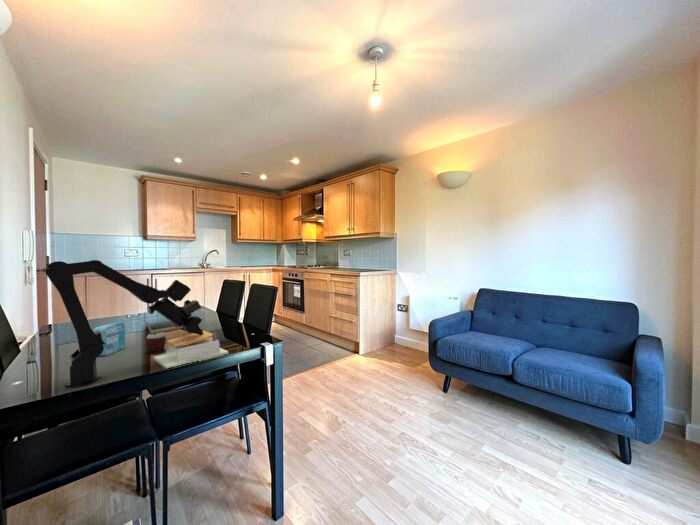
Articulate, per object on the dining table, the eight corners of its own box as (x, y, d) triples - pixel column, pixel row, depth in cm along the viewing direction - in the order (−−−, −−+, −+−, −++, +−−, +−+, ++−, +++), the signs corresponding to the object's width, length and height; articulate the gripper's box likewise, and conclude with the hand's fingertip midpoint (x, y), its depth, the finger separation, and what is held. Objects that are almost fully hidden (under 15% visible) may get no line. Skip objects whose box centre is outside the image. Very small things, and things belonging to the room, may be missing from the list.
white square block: (178, 363, 107) (177, 341, 107) (166, 354, 117) (165, 334, 117) (219, 352, 118) (219, 332, 118) (205, 345, 128) (204, 327, 128)
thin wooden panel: (176, 348, 108) (175, 346, 108) (167, 342, 116) (166, 340, 116) (214, 336, 118) (214, 334, 118) (204, 332, 126) (203, 330, 126)
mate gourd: (169, 351, 126) (168, 316, 125) (148, 356, 119) (147, 319, 119) (161, 348, 130) (159, 314, 130) (140, 353, 123) (139, 317, 123)
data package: (105, 356, 120) (104, 327, 120) (93, 357, 120) (92, 328, 120) (125, 348, 132) (124, 321, 132) (115, 348, 132) (114, 322, 132)
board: (166, 369, 103) (166, 366, 103) (153, 359, 115) (153, 356, 115) (228, 353, 119) (228, 351, 119) (211, 346, 131) (211, 343, 131)
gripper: (195, 296, 110) (225, 320, 118) (179, 293, 122) (207, 315, 131) (172, 320, 104) (205, 344, 112) (157, 314, 117) (189, 336, 125)
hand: (202, 333), depth 120 cm, fingers closed, pressing on thin wooden panel
